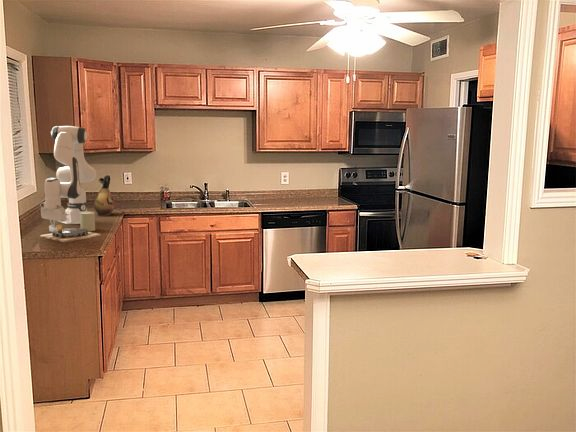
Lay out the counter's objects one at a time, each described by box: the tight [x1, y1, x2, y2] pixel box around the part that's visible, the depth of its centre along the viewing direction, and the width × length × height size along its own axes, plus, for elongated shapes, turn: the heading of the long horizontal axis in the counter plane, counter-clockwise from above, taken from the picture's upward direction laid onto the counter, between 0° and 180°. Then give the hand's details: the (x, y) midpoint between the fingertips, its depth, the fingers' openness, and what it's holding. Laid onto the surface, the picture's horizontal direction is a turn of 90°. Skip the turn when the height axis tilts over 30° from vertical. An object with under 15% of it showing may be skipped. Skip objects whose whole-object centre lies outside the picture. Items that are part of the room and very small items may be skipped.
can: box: [79, 211, 97, 232], centre depth 351 cm, size 9×9×12 cm
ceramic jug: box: [93, 174, 116, 217], centre depth 408 cm, size 17×15×30 cm
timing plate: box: [38, 228, 101, 243], centre depth 332 cm, size 25×25×4 cm
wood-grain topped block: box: [48, 224, 58, 233], centre depth 343 cm, size 6×3×4 cm, turn 57°
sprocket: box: [51, 223, 89, 238], centre depth 331 cm, size 20×20×7 cm
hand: (54, 227), depth 330 cm, fingers closed
